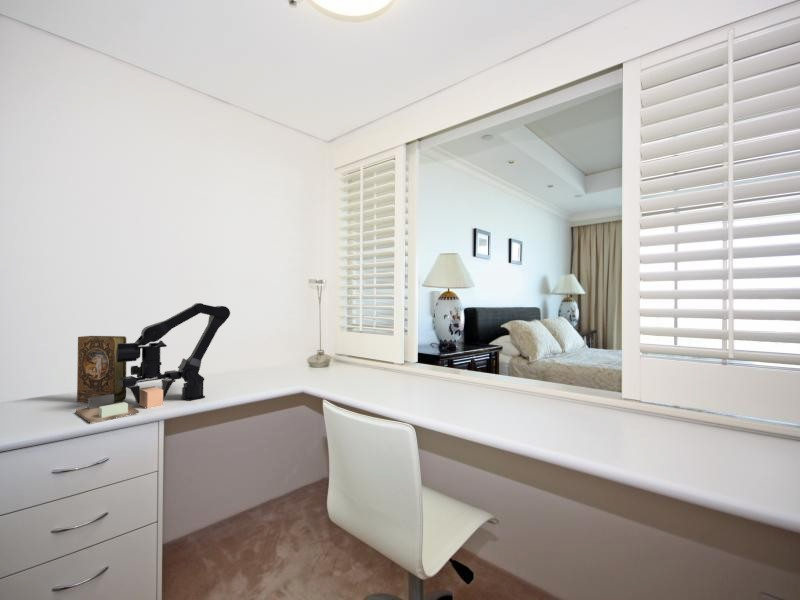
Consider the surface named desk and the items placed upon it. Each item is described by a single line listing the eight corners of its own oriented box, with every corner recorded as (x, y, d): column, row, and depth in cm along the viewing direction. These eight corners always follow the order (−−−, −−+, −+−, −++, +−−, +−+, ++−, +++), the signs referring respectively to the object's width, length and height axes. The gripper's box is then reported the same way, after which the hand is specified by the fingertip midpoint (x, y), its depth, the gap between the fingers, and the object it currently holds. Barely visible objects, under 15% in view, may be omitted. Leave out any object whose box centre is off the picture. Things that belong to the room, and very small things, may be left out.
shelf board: (121, 404, 134) (121, 401, 134) (138, 413, 123) (138, 410, 123) (75, 412, 124) (75, 410, 124) (90, 423, 113) (90, 420, 113)
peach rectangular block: (153, 401, 139) (153, 386, 139) (163, 405, 133) (163, 389, 133) (138, 404, 135) (138, 388, 135) (147, 409, 129) (147, 392, 129)
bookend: (111, 403, 132) (112, 392, 132) (114, 405, 130) (114, 393, 130) (87, 408, 126) (87, 396, 126) (89, 409, 125) (89, 398, 125)
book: (74, 402, 136) (74, 337, 137) (88, 398, 142) (88, 335, 142) (113, 404, 135) (114, 337, 135) (126, 400, 140) (126, 336, 140)
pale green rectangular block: (124, 410, 123) (124, 402, 123) (127, 412, 121) (127, 403, 121) (98, 416, 118) (99, 406, 118) (101, 417, 116) (101, 408, 116)
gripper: (170, 354, 146) (169, 393, 146) (113, 360, 132) (112, 403, 131) (181, 357, 140) (181, 397, 140) (123, 363, 125) (123, 408, 125)
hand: (150, 401), depth 134 cm, fingers open, 8 cm apart
